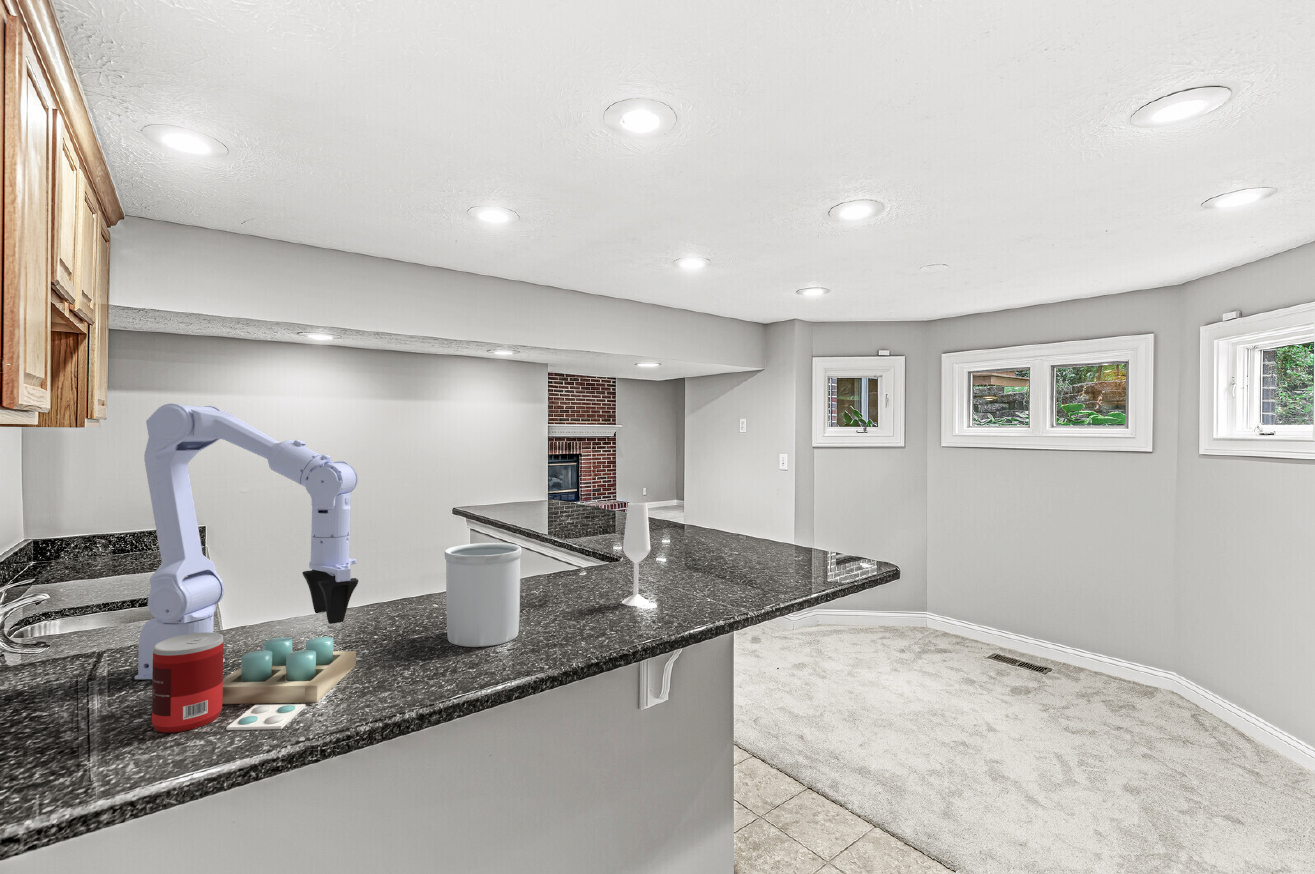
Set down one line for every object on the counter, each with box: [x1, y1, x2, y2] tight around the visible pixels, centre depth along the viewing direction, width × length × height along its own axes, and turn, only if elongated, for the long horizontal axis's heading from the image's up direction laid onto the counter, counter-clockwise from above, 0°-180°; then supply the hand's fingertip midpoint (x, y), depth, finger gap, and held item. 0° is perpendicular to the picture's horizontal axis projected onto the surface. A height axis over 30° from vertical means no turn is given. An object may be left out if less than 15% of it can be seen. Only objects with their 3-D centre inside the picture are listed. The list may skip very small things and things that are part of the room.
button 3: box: [286, 649, 316, 681], centre depth 98 cm, size 4×4×4 cm
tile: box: [226, 703, 306, 731], centre depth 89 cm, size 7×7×1 cm
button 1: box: [240, 649, 272, 682], centre depth 97 cm, size 4×4×4 cm
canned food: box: [151, 632, 225, 734], centre depth 87 cm, size 8×8×11 cm
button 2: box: [263, 636, 293, 666], centre depth 104 cm, size 4×4×4 cm
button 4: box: [305, 636, 334, 666], centre depth 104 cm, size 4×4×4 cm
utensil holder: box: [444, 542, 523, 648], centre depth 126 cm, size 15×15×18 cm
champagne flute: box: [621, 502, 651, 607], centre depth 154 cm, size 7×7×24 cm
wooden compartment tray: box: [222, 650, 357, 705], centre depth 101 cm, size 15×15×2 cm
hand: (328, 617), depth 105 cm, fingers open, 7 cm apart
